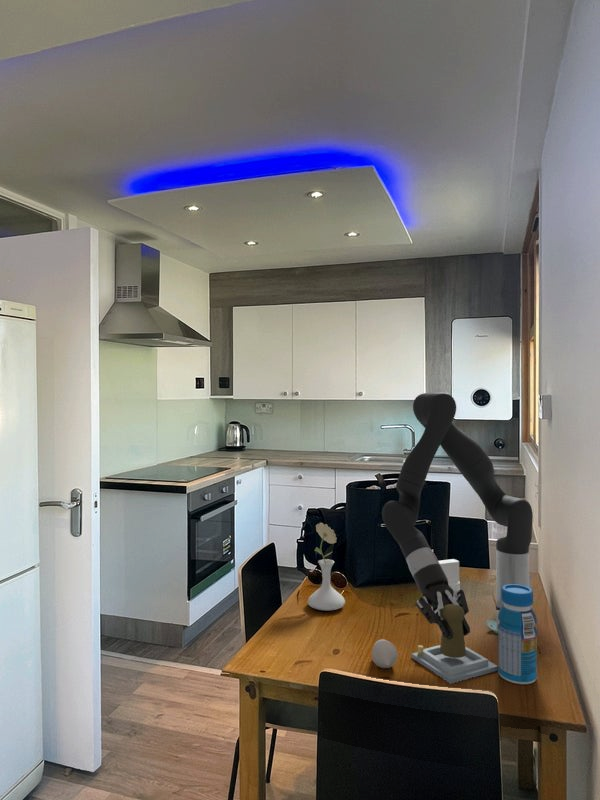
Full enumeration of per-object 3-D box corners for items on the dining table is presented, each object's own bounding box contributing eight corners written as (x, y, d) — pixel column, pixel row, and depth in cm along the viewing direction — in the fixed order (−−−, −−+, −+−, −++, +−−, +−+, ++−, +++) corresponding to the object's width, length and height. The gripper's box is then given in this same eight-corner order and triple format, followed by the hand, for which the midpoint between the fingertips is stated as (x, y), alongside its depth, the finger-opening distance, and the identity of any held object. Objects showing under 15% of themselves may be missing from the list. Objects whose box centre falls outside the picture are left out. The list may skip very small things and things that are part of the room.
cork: (467, 659, 129) (467, 611, 129) (440, 656, 131) (440, 609, 131) (464, 647, 135) (465, 602, 135) (439, 645, 137) (439, 600, 136)
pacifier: (497, 625, 156) (483, 630, 152) (497, 603, 156) (484, 607, 152) (520, 634, 150) (507, 639, 146) (521, 611, 150) (508, 615, 146)
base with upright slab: (449, 593, 180) (449, 556, 180) (465, 603, 172) (465, 564, 172) (424, 596, 178) (424, 559, 178) (440, 606, 169) (440, 567, 169)
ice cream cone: (386, 686, 122) (380, 665, 137) (408, 668, 123) (399, 649, 138) (368, 663, 123) (364, 644, 138) (390, 645, 124) (383, 628, 139)
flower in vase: (351, 611, 166) (351, 527, 166) (315, 616, 162) (315, 530, 162) (333, 596, 178) (333, 518, 178) (300, 601, 174) (300, 521, 174)
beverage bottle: (497, 682, 124) (496, 592, 124) (498, 665, 132) (497, 580, 132) (538, 688, 121) (538, 597, 121) (536, 671, 129) (536, 584, 129)
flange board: (456, 646, 142) (456, 634, 142) (497, 670, 130) (497, 657, 130) (411, 657, 136) (411, 645, 136) (450, 684, 124) (450, 670, 124)
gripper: (409, 566, 137) (442, 635, 126) (455, 558, 143) (490, 623, 132) (396, 581, 141) (427, 648, 131) (441, 573, 148) (474, 637, 137)
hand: (458, 635), depth 131 cm, fingers closed on cork, 4 cm apart
